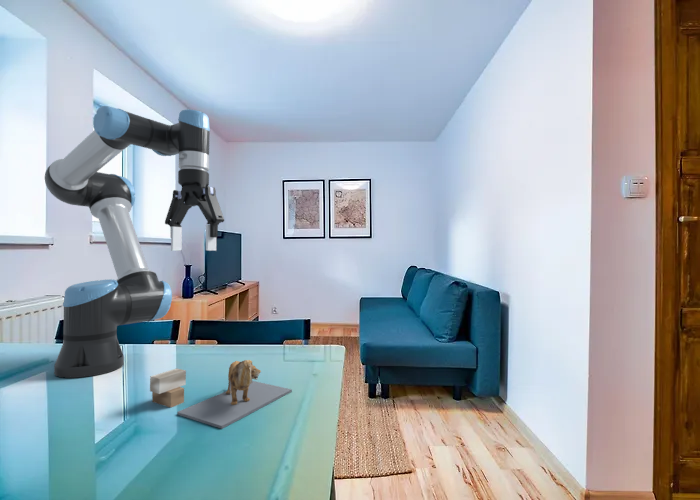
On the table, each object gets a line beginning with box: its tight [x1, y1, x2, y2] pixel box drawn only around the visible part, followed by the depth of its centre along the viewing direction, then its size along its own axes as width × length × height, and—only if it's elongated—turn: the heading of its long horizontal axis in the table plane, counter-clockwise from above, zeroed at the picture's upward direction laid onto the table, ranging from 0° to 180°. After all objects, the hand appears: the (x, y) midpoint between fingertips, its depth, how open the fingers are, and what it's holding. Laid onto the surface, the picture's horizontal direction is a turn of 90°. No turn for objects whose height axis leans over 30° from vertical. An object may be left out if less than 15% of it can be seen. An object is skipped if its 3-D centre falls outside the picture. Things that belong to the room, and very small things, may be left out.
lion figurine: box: [225, 359, 262, 405], centre depth 77 cm, size 15×5×9 cm, turn 34°
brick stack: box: [149, 368, 187, 408], centre depth 76 cm, size 6×6×6 cm
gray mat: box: [176, 380, 293, 430], centre depth 76 cm, size 12×20×1 cm, turn 152°
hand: (193, 250), depth 96 cm, fingers open, 13 cm apart
